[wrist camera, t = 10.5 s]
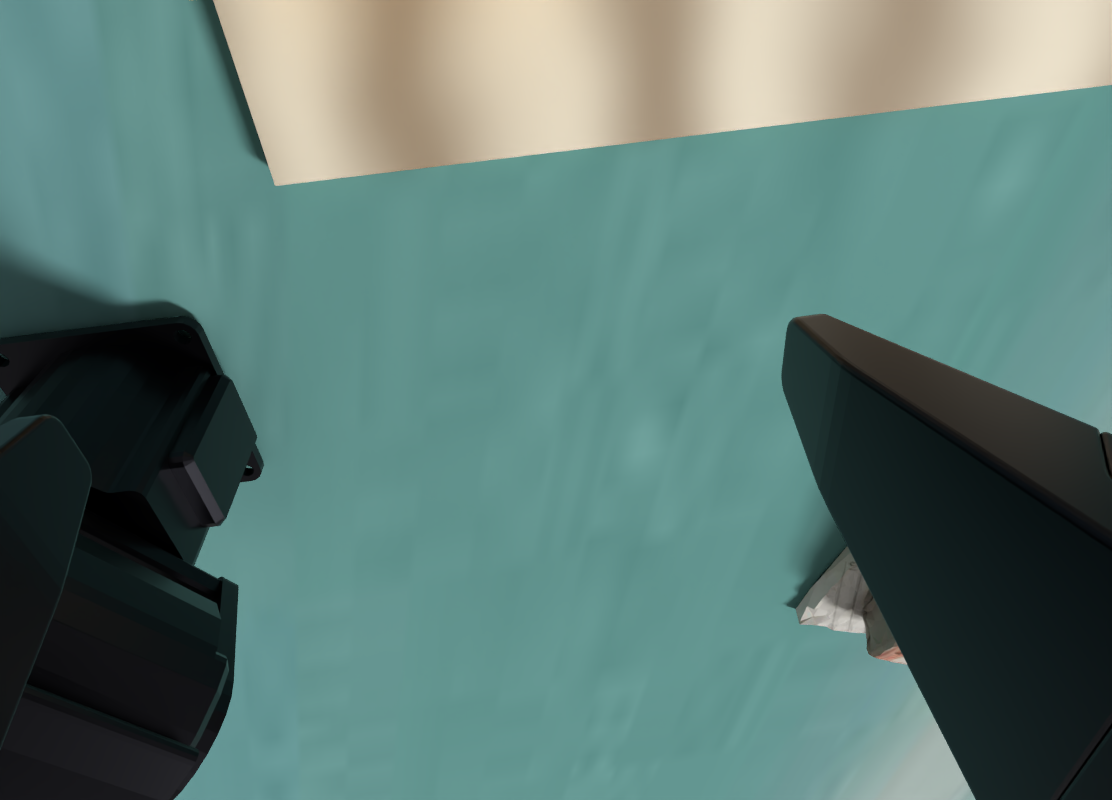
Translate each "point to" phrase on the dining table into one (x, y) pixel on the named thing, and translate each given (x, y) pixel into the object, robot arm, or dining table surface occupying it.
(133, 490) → the robot arm
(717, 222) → the dining table surface
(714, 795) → the dining table surface
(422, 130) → the board
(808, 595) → the packaged product
